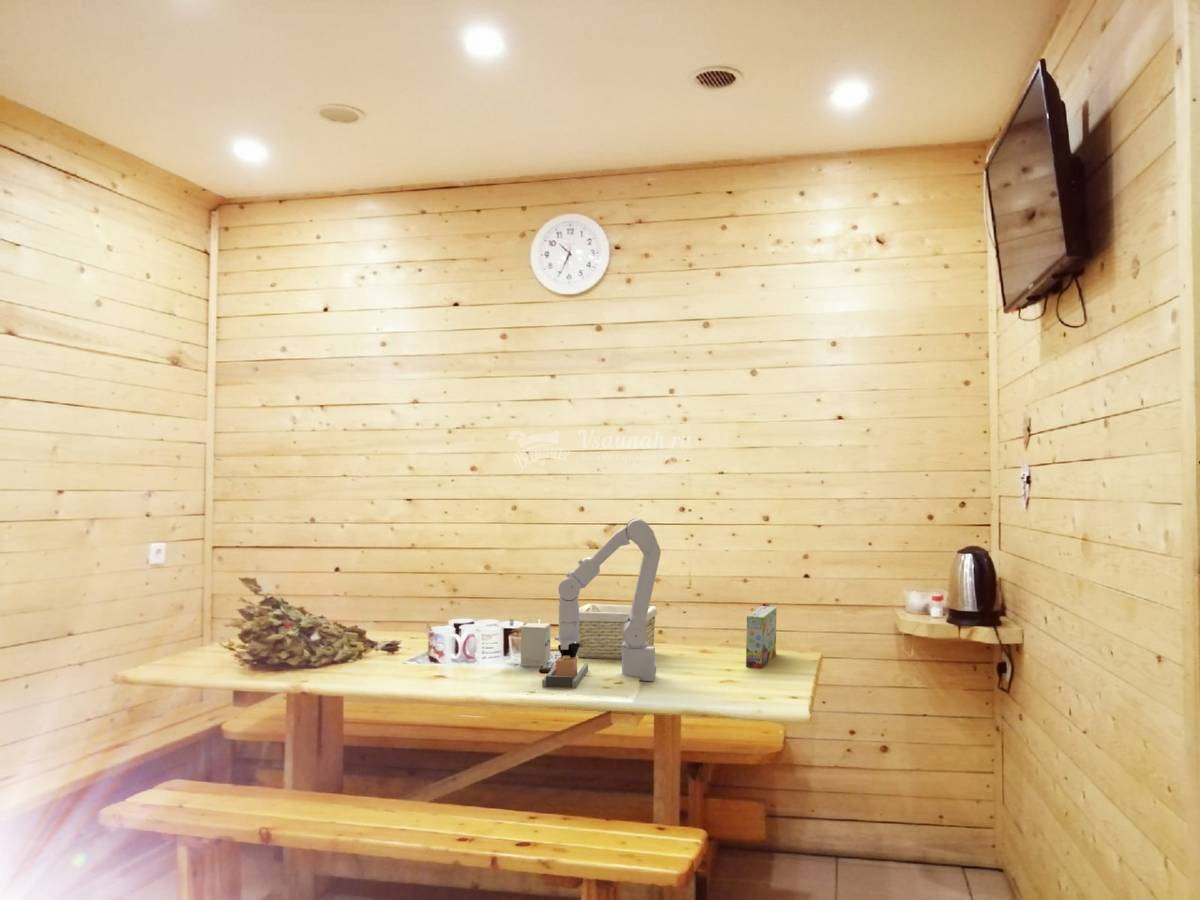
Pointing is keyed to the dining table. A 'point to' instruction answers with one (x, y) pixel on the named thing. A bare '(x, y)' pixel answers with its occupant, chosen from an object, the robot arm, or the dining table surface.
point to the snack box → (761, 637)
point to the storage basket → (607, 630)
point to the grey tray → (563, 679)
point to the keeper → (566, 666)
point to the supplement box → (535, 644)
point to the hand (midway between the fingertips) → (569, 670)
